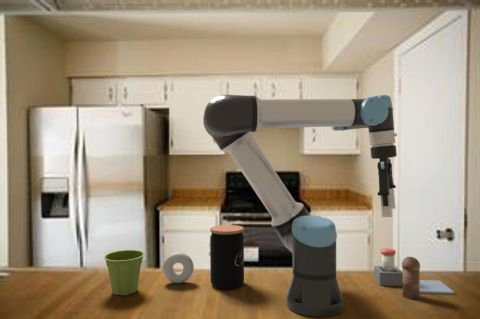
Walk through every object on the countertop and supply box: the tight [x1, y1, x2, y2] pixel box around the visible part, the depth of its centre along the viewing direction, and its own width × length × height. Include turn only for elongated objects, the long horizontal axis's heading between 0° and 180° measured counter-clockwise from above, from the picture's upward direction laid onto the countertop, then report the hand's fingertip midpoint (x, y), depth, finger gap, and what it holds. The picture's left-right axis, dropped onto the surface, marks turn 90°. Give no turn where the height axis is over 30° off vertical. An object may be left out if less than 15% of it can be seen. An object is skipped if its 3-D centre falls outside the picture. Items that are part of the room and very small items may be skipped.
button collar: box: [373, 265, 403, 287], centre depth 118 cm, size 7×7×4 cm
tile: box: [419, 279, 455, 295], centre depth 112 cm, size 10×10×1 cm
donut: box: [162, 251, 195, 284], centre depth 118 cm, size 10×4×10 cm, turn 93°
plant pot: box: [103, 249, 146, 296], centre depth 111 cm, size 12×12×11 cm
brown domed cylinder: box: [401, 256, 421, 301], centre depth 105 cm, size 5×5×11 cm
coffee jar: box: [209, 224, 245, 291], centre depth 116 cm, size 11×11×18 cm
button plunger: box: [380, 248, 396, 272], centre depth 118 cm, size 4×4×7 cm
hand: (389, 212), depth 116 cm, fingers open, 13 cm apart
